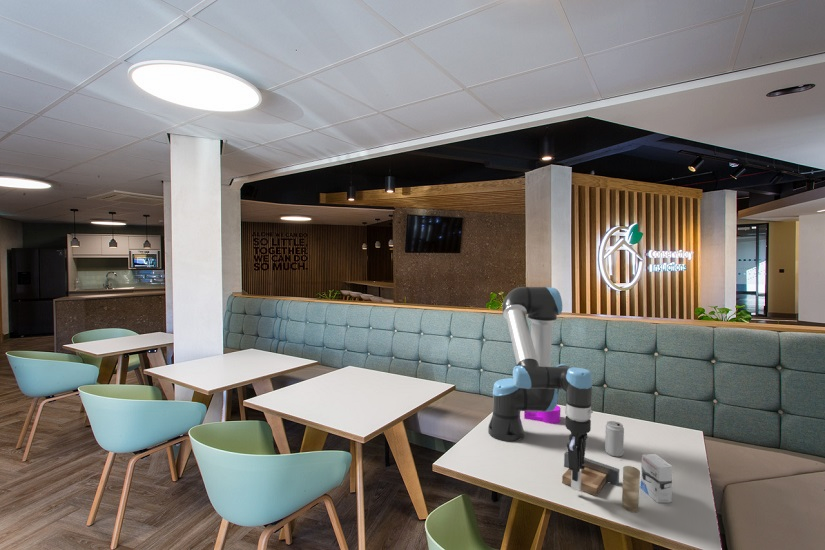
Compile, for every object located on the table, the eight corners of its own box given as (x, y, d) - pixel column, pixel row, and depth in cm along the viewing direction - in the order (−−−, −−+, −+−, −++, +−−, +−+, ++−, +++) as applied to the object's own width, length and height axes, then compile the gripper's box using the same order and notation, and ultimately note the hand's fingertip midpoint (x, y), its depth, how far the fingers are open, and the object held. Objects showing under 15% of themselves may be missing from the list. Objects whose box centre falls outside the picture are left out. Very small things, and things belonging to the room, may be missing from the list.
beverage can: (625, 458, 151) (626, 428, 150) (607, 456, 152) (608, 426, 151) (620, 450, 157) (621, 421, 156) (602, 448, 158) (603, 419, 158)
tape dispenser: (560, 417, 189) (560, 404, 189) (559, 425, 180) (560, 412, 180) (526, 412, 195) (526, 399, 195) (524, 419, 186) (524, 406, 186)
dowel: (620, 507, 121) (621, 470, 120) (623, 501, 124) (625, 464, 123) (636, 514, 118) (638, 475, 117) (639, 507, 121) (641, 469, 120)
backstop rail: (564, 466, 144) (564, 453, 144) (566, 464, 146) (566, 451, 145) (617, 485, 132) (617, 471, 132) (618, 483, 134) (619, 469, 134)
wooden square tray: (562, 482, 133) (562, 475, 133) (573, 469, 142) (573, 463, 141) (596, 496, 126) (596, 488, 126) (606, 481, 134) (606, 474, 134)
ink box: (639, 487, 132) (640, 453, 131) (653, 487, 132) (654, 453, 131) (657, 503, 123) (658, 467, 123) (672, 502, 123) (673, 466, 123)
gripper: (583, 427, 118) (581, 502, 119) (596, 414, 128) (594, 484, 129) (559, 420, 123) (556, 492, 124) (573, 408, 133) (570, 476, 134)
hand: (575, 488), depth 127 cm, fingers closed
